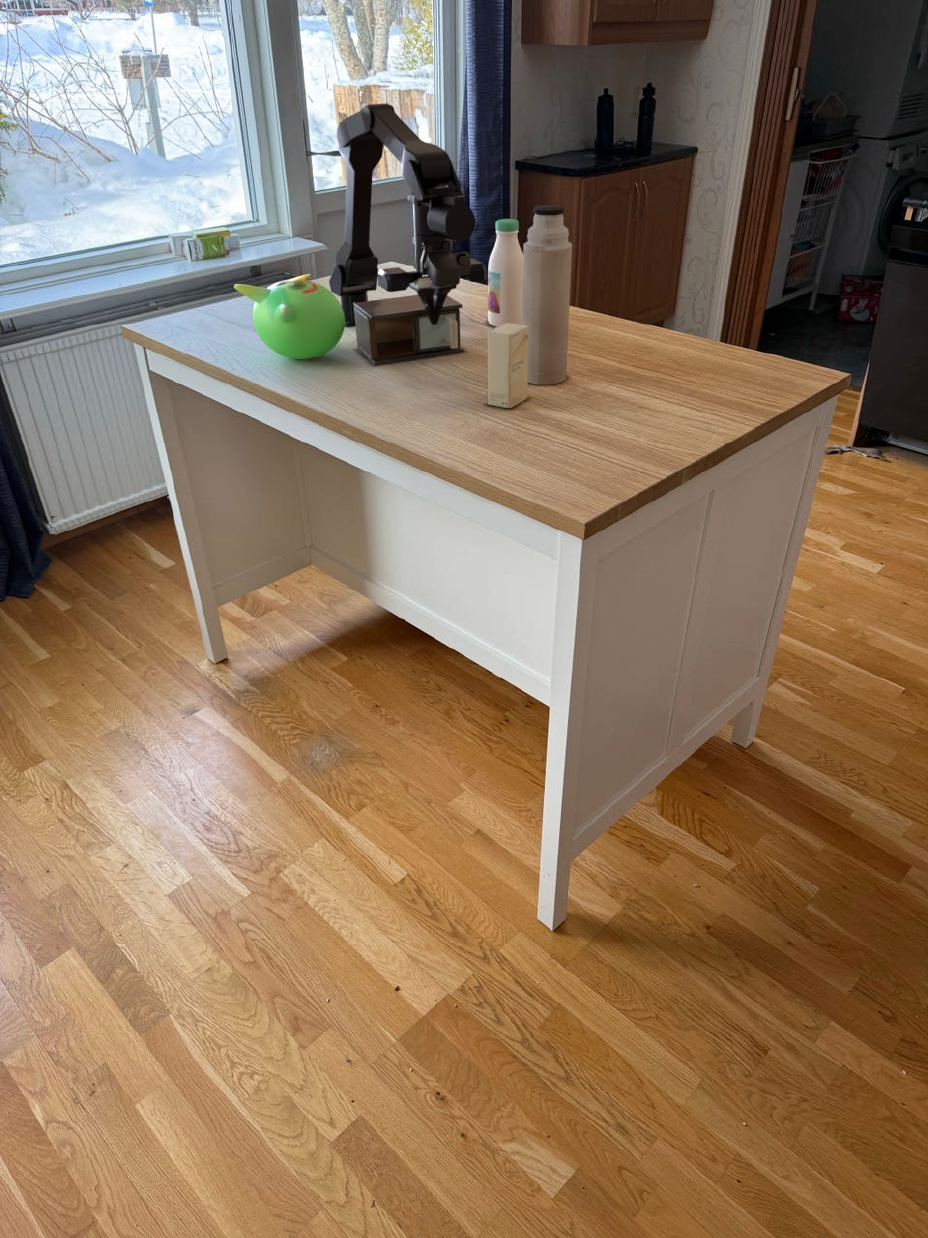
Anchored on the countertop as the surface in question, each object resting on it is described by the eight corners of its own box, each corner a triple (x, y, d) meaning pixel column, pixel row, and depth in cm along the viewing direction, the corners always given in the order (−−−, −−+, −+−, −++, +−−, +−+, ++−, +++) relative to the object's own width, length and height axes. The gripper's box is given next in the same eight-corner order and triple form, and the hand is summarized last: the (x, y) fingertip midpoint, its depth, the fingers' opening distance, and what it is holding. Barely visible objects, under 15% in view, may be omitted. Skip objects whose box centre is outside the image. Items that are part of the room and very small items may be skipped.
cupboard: (357, 350, 175) (353, 302, 170) (442, 337, 180) (441, 291, 175) (374, 365, 167) (371, 316, 162) (463, 352, 172) (462, 304, 167)
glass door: (415, 352, 170) (413, 314, 166) (459, 345, 173) (458, 308, 169) (426, 360, 165) (424, 322, 161) (471, 353, 168) (470, 315, 164)
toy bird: (365, 355, 172) (358, 275, 164) (295, 377, 162) (284, 293, 154) (306, 337, 182) (297, 261, 174) (237, 357, 172) (224, 278, 164)
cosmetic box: (510, 409, 146) (510, 334, 140) (486, 405, 148) (486, 331, 142) (528, 397, 151) (529, 324, 144) (505, 393, 153) (505, 321, 146)
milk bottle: (525, 317, 191) (527, 216, 180) (524, 328, 185) (525, 224, 174) (489, 317, 192) (489, 216, 181) (486, 327, 185) (486, 224, 174)
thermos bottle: (528, 368, 164) (531, 201, 148) (570, 372, 161) (578, 203, 146) (516, 382, 157) (518, 209, 142) (560, 386, 155) (567, 211, 139)
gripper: (395, 246, 145) (401, 343, 154) (499, 235, 151) (499, 328, 160) (373, 234, 154) (380, 326, 162) (472, 224, 160) (473, 313, 168)
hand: (434, 324), depth 163 cm, fingers closed
